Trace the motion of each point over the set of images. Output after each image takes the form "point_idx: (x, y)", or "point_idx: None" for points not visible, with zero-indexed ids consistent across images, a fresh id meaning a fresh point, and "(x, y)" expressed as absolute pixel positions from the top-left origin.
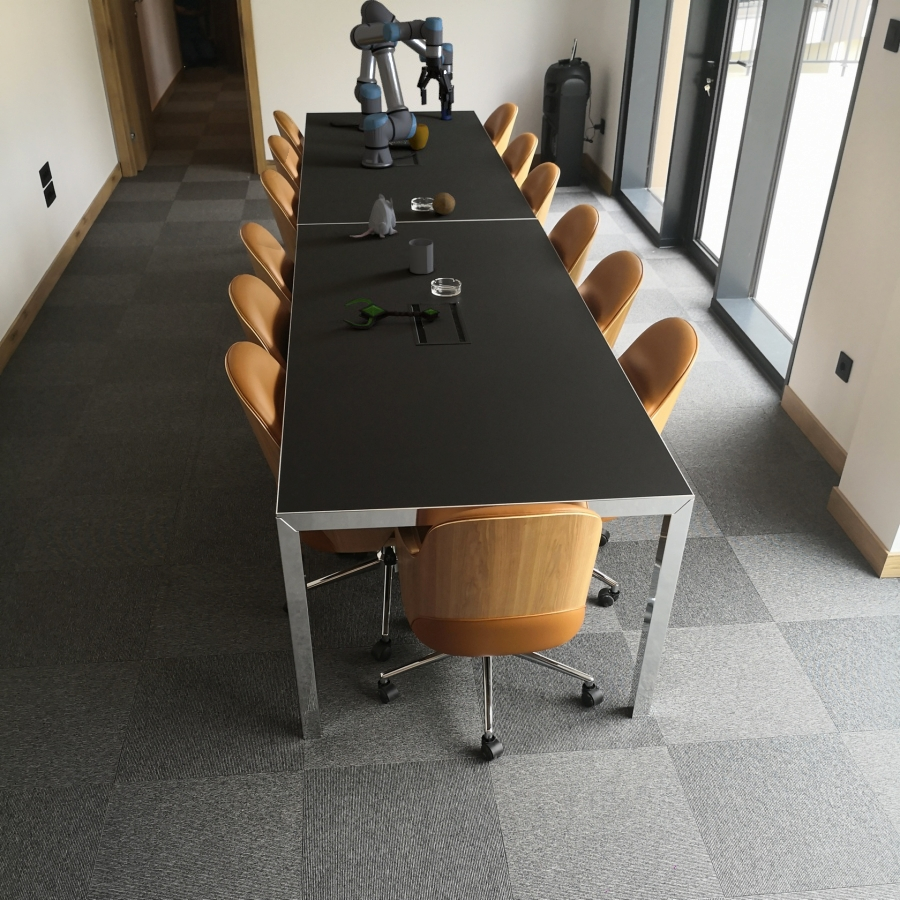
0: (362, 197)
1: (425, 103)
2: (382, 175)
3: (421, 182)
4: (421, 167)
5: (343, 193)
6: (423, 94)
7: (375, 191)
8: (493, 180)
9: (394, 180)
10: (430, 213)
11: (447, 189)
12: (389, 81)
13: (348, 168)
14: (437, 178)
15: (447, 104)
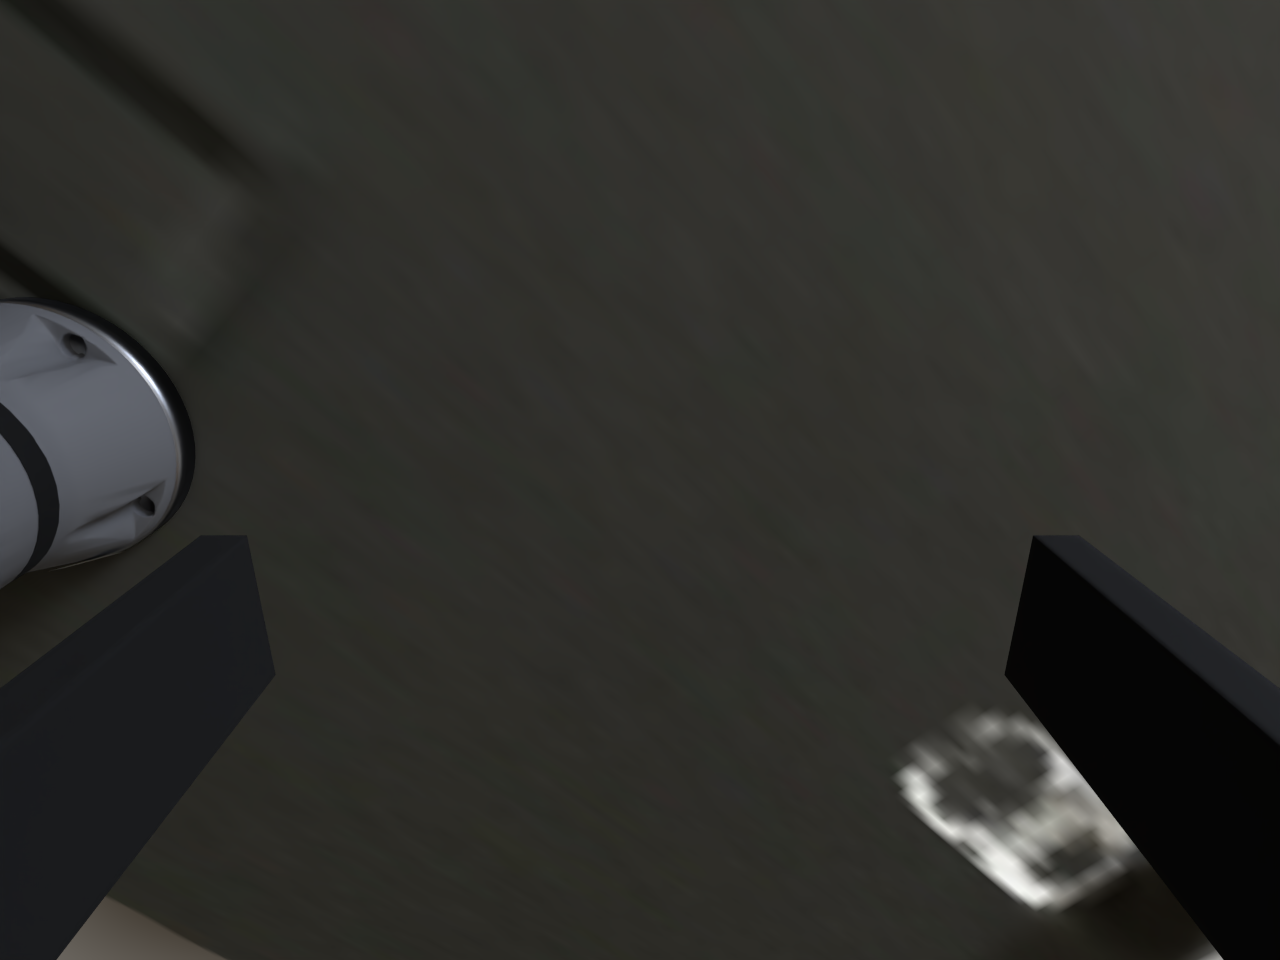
0: (659, 929)
1: (240, 592)
2: (353, 590)
3: (694, 525)
4: (353, 209)
5: (525, 946)
6: (80, 857)
7: (624, 830)
8: (1145, 54)
9: (516, 615)
10: (1152, 885)
11: (961, 522)
12: None
13: (37, 631)
14: (710, 367)
15: (1144, 606)
